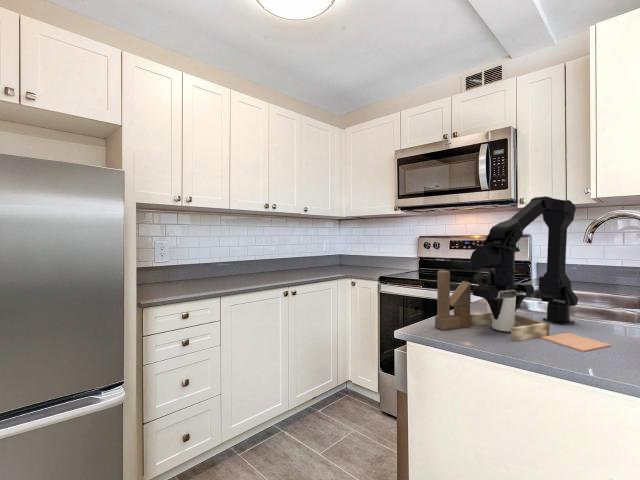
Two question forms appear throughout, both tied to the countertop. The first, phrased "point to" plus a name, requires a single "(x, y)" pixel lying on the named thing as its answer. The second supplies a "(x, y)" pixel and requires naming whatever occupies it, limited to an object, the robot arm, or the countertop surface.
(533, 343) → the countertop surface
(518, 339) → the beige angled bar
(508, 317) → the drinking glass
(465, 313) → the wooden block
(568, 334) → the terracotta mat
